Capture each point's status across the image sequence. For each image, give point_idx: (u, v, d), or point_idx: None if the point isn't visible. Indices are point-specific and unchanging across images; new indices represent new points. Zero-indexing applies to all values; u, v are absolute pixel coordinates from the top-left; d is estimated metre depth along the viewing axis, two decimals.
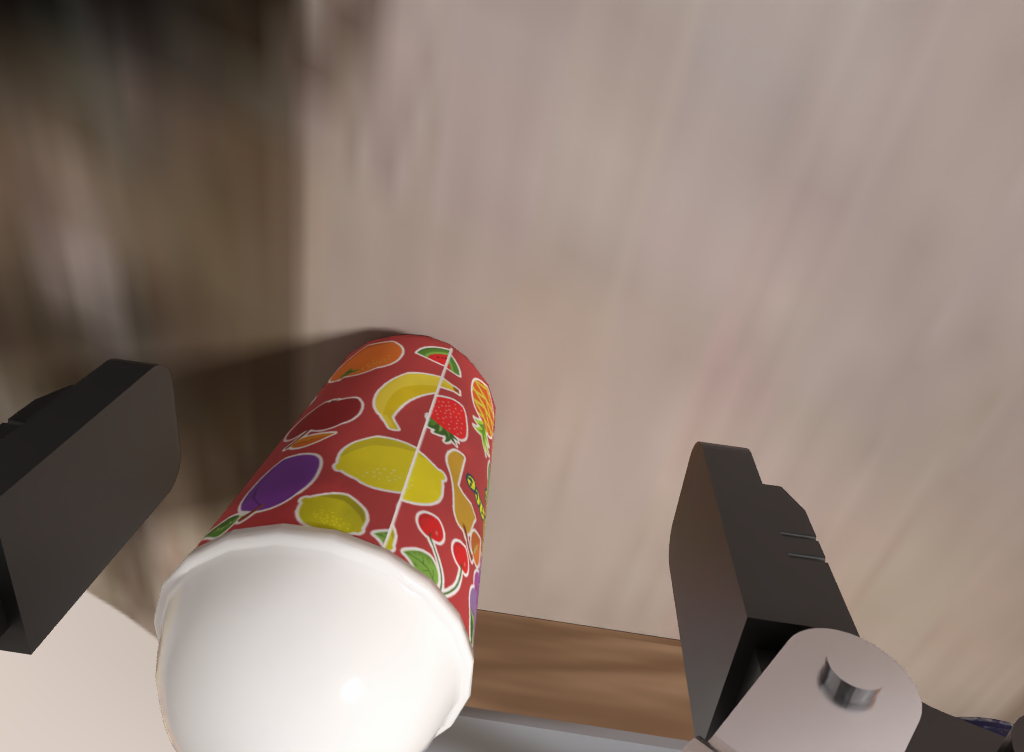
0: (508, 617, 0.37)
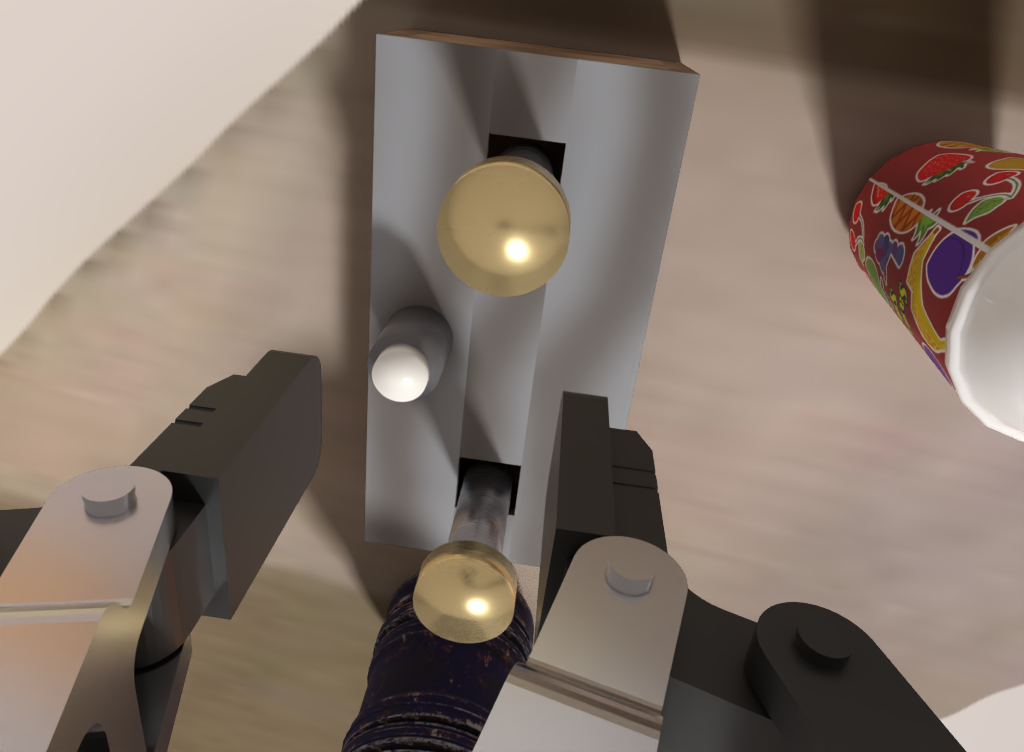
0: None
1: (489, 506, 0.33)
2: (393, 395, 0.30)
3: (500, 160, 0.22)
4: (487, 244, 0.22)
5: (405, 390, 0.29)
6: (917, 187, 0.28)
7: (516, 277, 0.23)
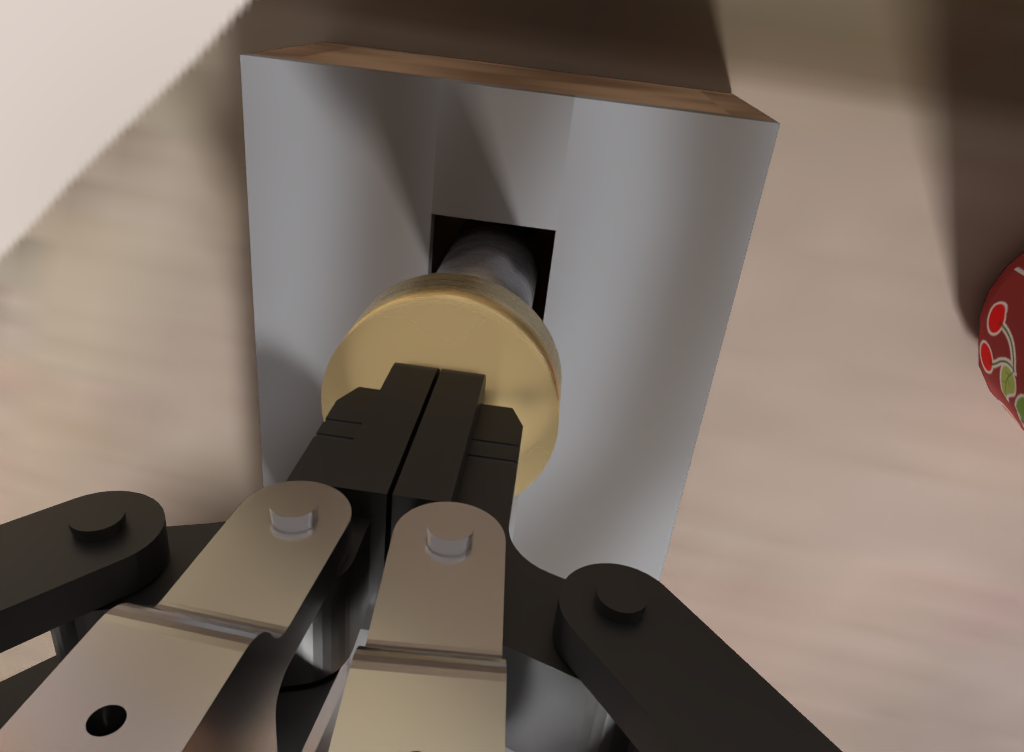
0: None
1: None
2: None
3: (433, 287, 0.12)
4: None
5: None
6: None
7: None
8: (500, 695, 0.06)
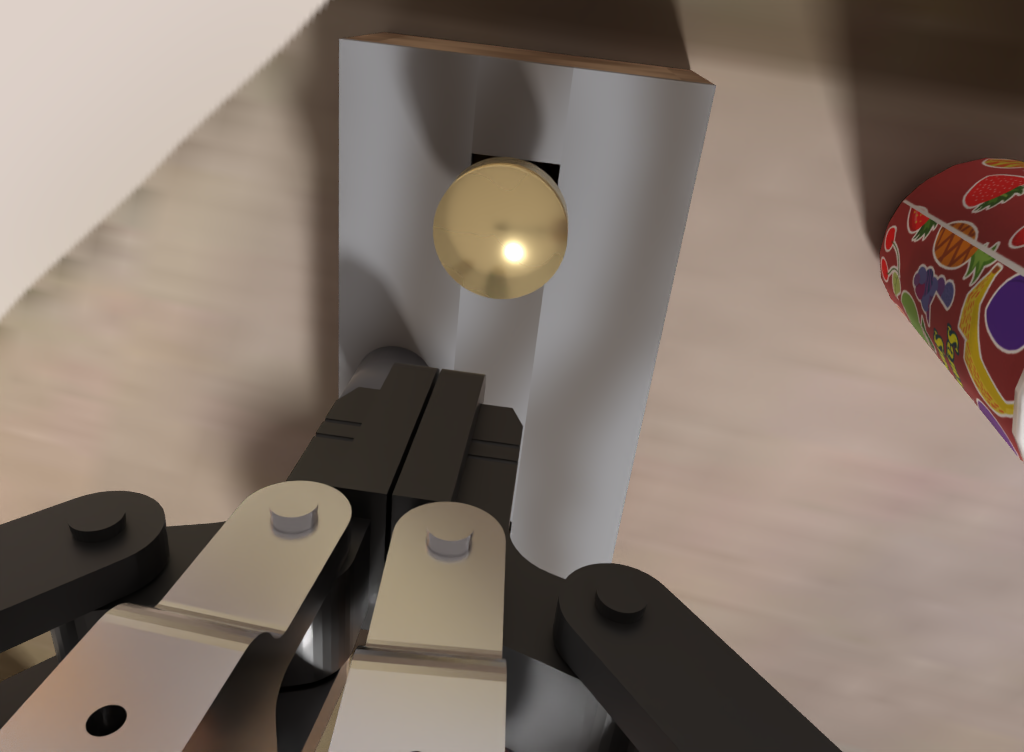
0: None
1: None
2: None
3: (497, 161, 0.22)
4: (484, 246, 0.22)
5: None
6: (966, 214, 0.24)
7: (513, 279, 0.22)
8: (500, 695, 0.06)
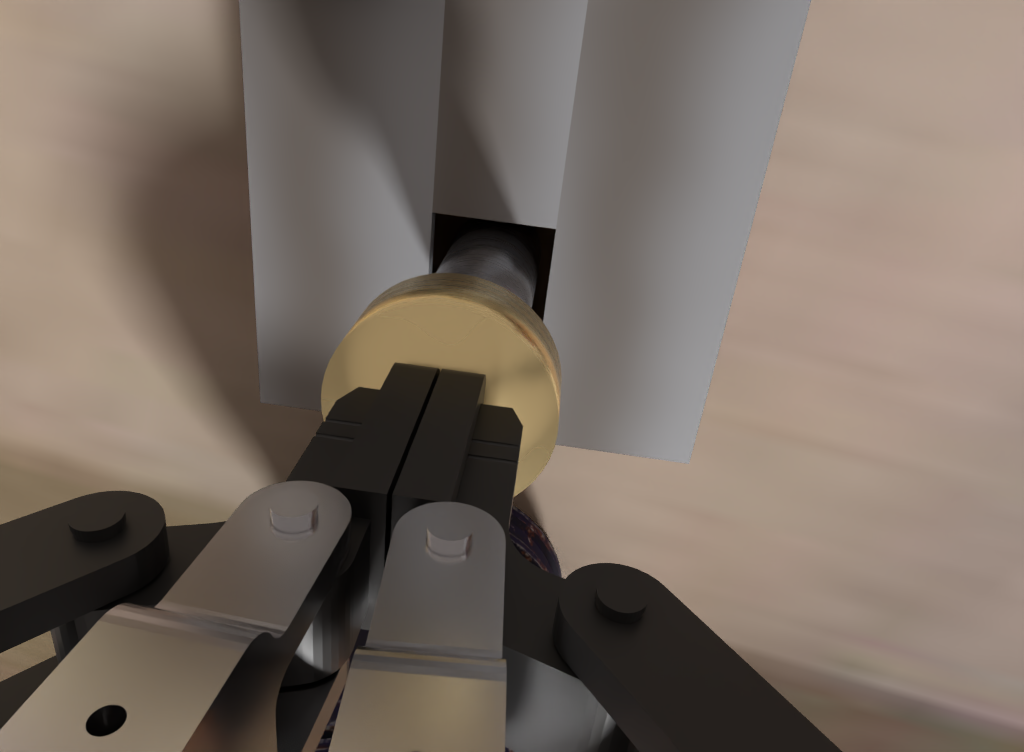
0: None
1: (498, 260, 0.16)
2: None
3: None
4: None
5: None
6: None
7: None
8: (500, 695, 0.06)
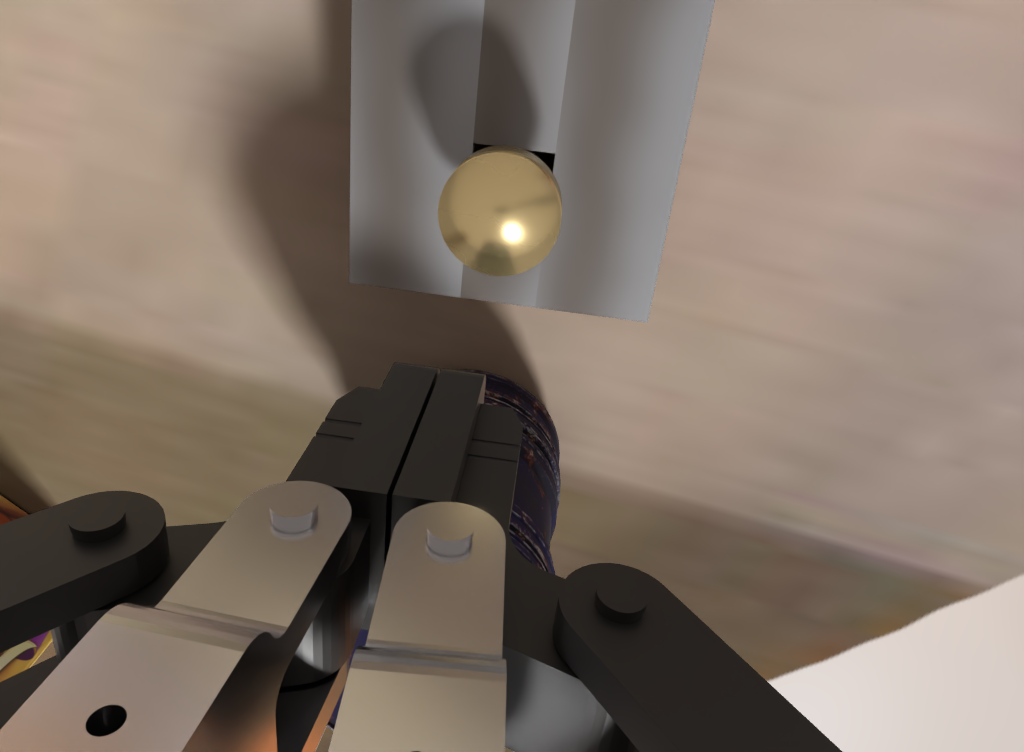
0: None
1: None
2: None
3: None
4: None
5: None
6: None
7: None
8: (500, 695, 0.06)
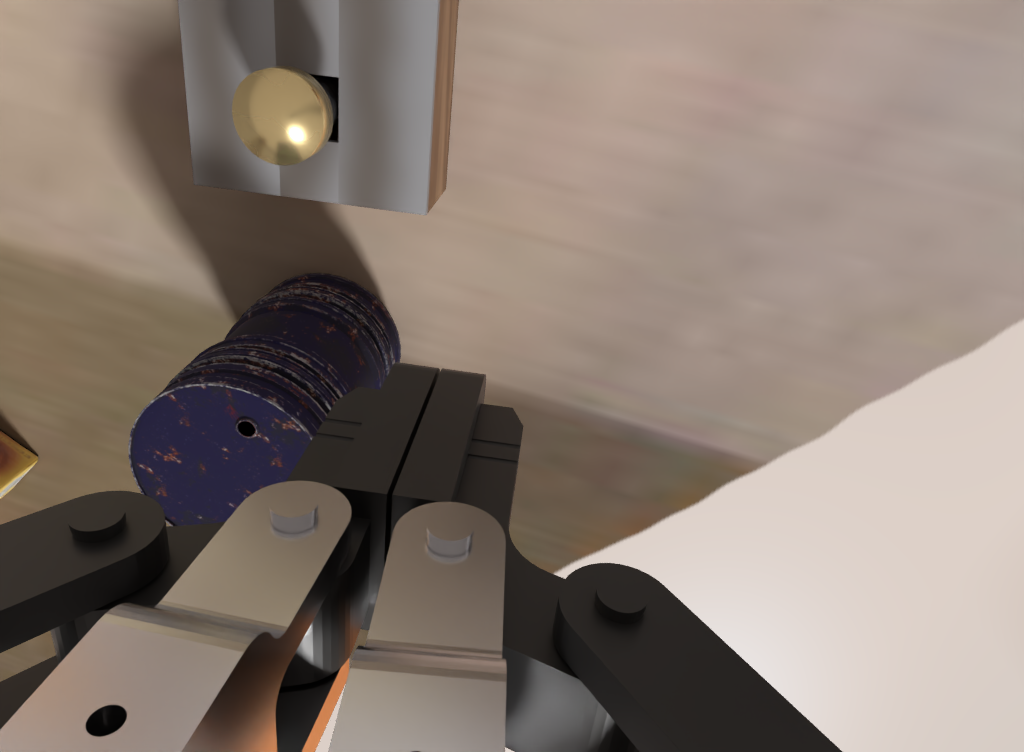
0: None
1: (321, 80, 0.36)
2: None
3: None
4: None
5: None
6: None
7: None
8: (500, 695, 0.06)
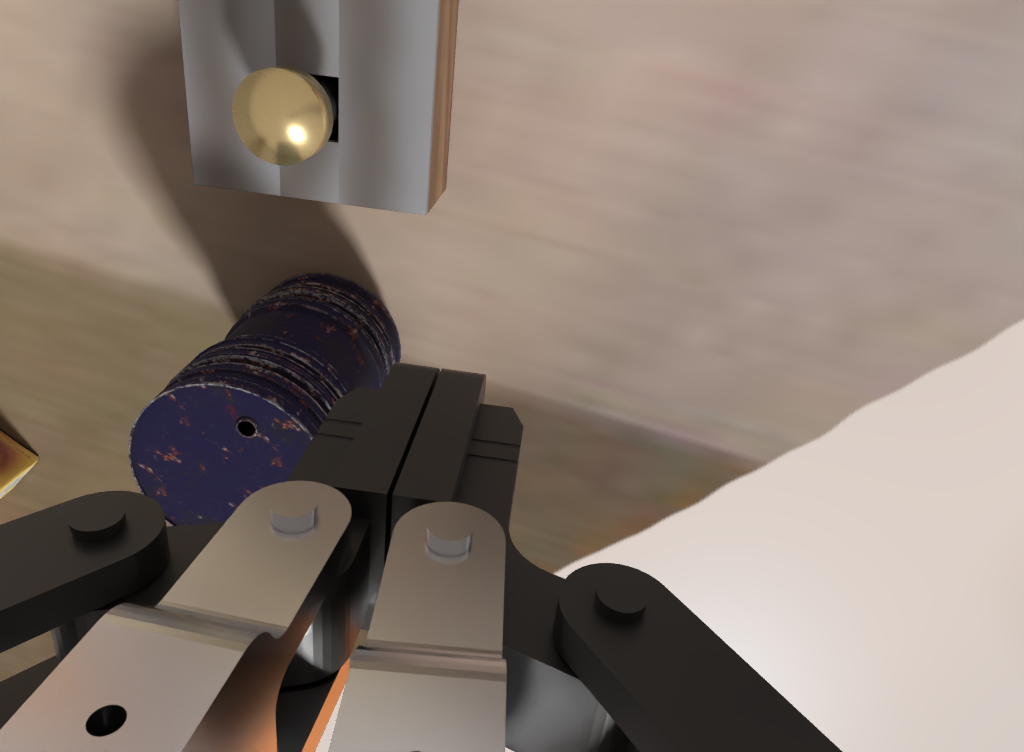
0: None
1: (321, 80, 0.36)
2: None
3: None
4: None
5: None
6: None
7: None
8: (500, 695, 0.06)
